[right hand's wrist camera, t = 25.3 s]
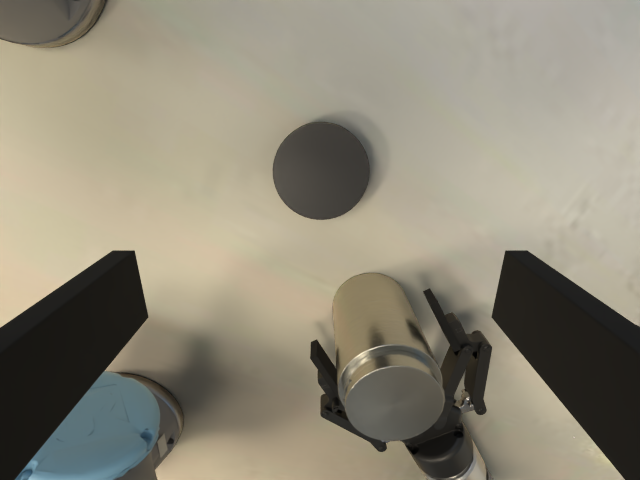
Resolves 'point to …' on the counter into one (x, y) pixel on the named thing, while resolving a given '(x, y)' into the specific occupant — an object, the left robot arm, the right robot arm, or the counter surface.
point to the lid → (321, 170)
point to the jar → (384, 361)
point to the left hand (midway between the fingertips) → (369, 322)
